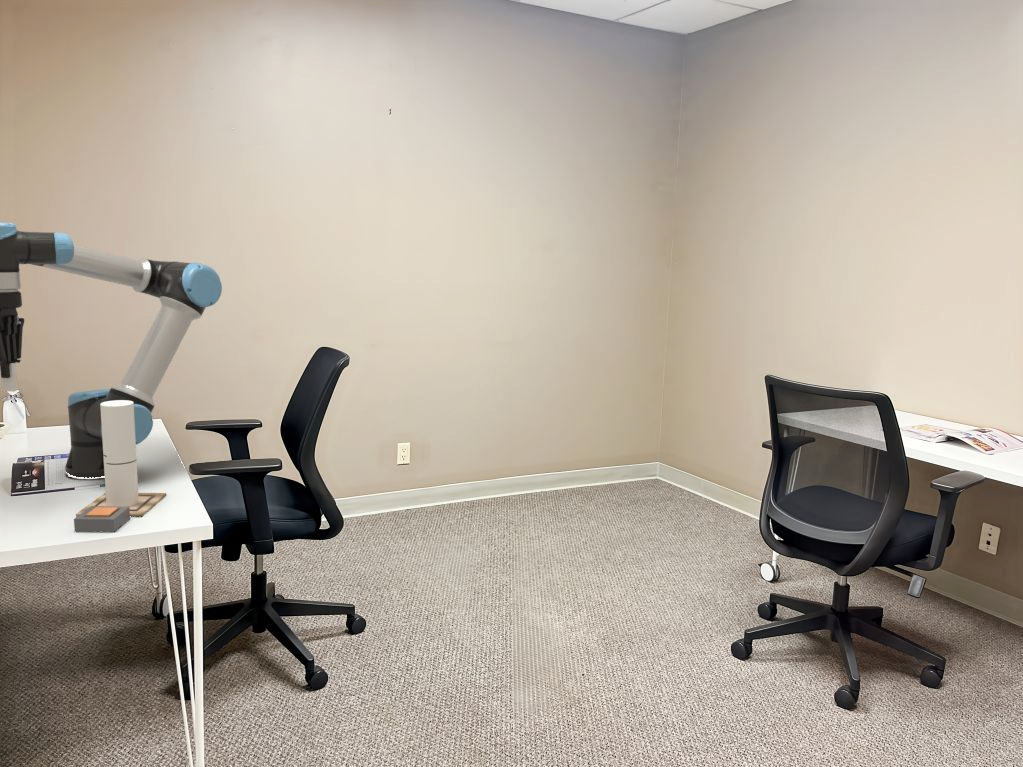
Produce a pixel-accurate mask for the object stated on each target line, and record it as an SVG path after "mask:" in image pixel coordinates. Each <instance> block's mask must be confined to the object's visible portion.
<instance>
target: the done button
mask: <svg viewBox="0 0 1023 767" xmlns="http://www.w3.org/2000/svg"><path fill="white" fill-rule="evenodd" d="M117 511H118V507H96V508H94V509H93V510H92V511H90V512H89V513H88V514H86V517H110V516H112V515H113V514H114V513H115V512H117Z"/></svg>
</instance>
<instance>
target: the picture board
mask: <svg viewBox="0 0 1023 767" xmlns="http://www.w3.org/2000/svg"><path fill="white" fill-rule="evenodd" d="M166 496H167V492H138V497H139V502H138V503H137V504H135V505H132V506H128V507H130V516H140V517H139V518H142V517H144V516H145V515H146V514H147V513H148V512H149V511H150V510H152V509H153V508H154V507H155V506H156V505H157V504H158V503H159V502H160V501H162V500H163V499H164V498H165V497H166ZM91 506H107V505H106V492H104V493H103V494H101V495H100V496H98V497H97V498H96V499H94V500H93V501H91V503H90V502H89V504H87V505H86V506H85V507H84V508H82V509H80V510H79V511H78V512H77V513H76V514H75V516H76V517H77V516H79V515H80V514H81V513H83V512H84V511H86V510H87V509H88V508H90V507H91ZM153 506H154V507H153ZM152 507H153V508H152ZM147 511H148V512H147ZM146 512H147V513H146ZM145 513H146V514H145ZM144 514H145V515H144ZM143 515H144V516H143ZM141 516H142V517H141Z"/></svg>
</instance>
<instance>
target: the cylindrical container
mask: <svg viewBox="0 0 1023 767" xmlns="http://www.w3.org/2000/svg"><path fill="white" fill-rule="evenodd" d="M100 408H101V424H102V441H103V454H104V455H103V457H104V474H105V478H104V486H105V488H104V489H105V490H104V491H105V493H106V505H107V506H132V505H135V504H137V503H138V502H139V497H138V493H139V483H138V482H139V481H138V478H139V477H138V462H137V459H138V458H137V445H136V439H135V421H134V402H133V401H128V400H114V401H107V402H103V403H101V404H100Z"/></svg>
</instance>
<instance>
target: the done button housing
mask: <svg viewBox="0 0 1023 767" xmlns="http://www.w3.org/2000/svg"><path fill="white" fill-rule="evenodd" d="M96 507H118V511H117V512H115V513H114V514H113V515H112V516H110V517H86V514H88V513H89V512H90V511H92V510H93V509H94V508H96ZM130 519H131V517H130V507H128V506H91V507H90V508H88V509H87V510H86V511H84V512H83V513H81V514H80V515H79V516H76V517H75V518H74V519H73V526H74V532H75V531H76V532H75V533H78V532H77V531H84V532H83V533H86V532H85V531H88V532H87V533H94V532H93V531H98V532H97V533H101V532H100V531H103V532H102V533H107V532H106V531H109V532H108V533H113V532H112V531H115V532H116V531H118V530H119V529H120V528H121V527H122V526H124V525H125V524H126V523H127V522H128V521H129V520H130ZM127 520H128V521H127ZM126 521H127V522H126ZM125 522H126V523H125ZM124 523H125V524H124ZM120 526H121V527H120ZM119 527H120V528H119ZM118 528H119V529H118ZM117 529H118V530H117Z"/></svg>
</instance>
